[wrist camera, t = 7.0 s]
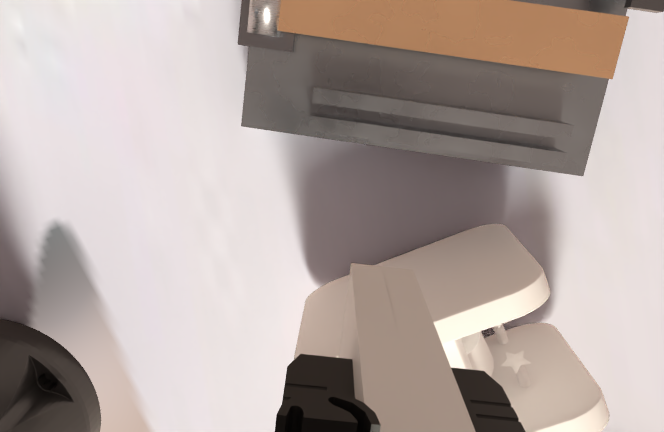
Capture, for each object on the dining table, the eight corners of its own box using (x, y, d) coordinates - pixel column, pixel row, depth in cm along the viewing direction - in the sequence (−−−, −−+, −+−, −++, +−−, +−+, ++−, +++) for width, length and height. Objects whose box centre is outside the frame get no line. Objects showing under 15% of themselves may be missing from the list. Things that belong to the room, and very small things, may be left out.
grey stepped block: (248, 116, 39) (219, 132, 30) (271, -119, 35) (246, -171, 27) (559, 161, 39) (613, 190, 30) (616, -69, 35) (696, -105, 27)
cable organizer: (508, 207, 40) (568, 268, 28) (554, 339, 42) (626, 442, 31) (306, 284, 42) (288, 369, 30) (361, 405, 44) (363, 524, 33)
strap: (251, 32, 32) (242, 31, 30) (258, -38, 31) (249, -43, 29) (602, 84, 31) (614, 85, 29) (621, 12, 30) (634, 9, 28)
